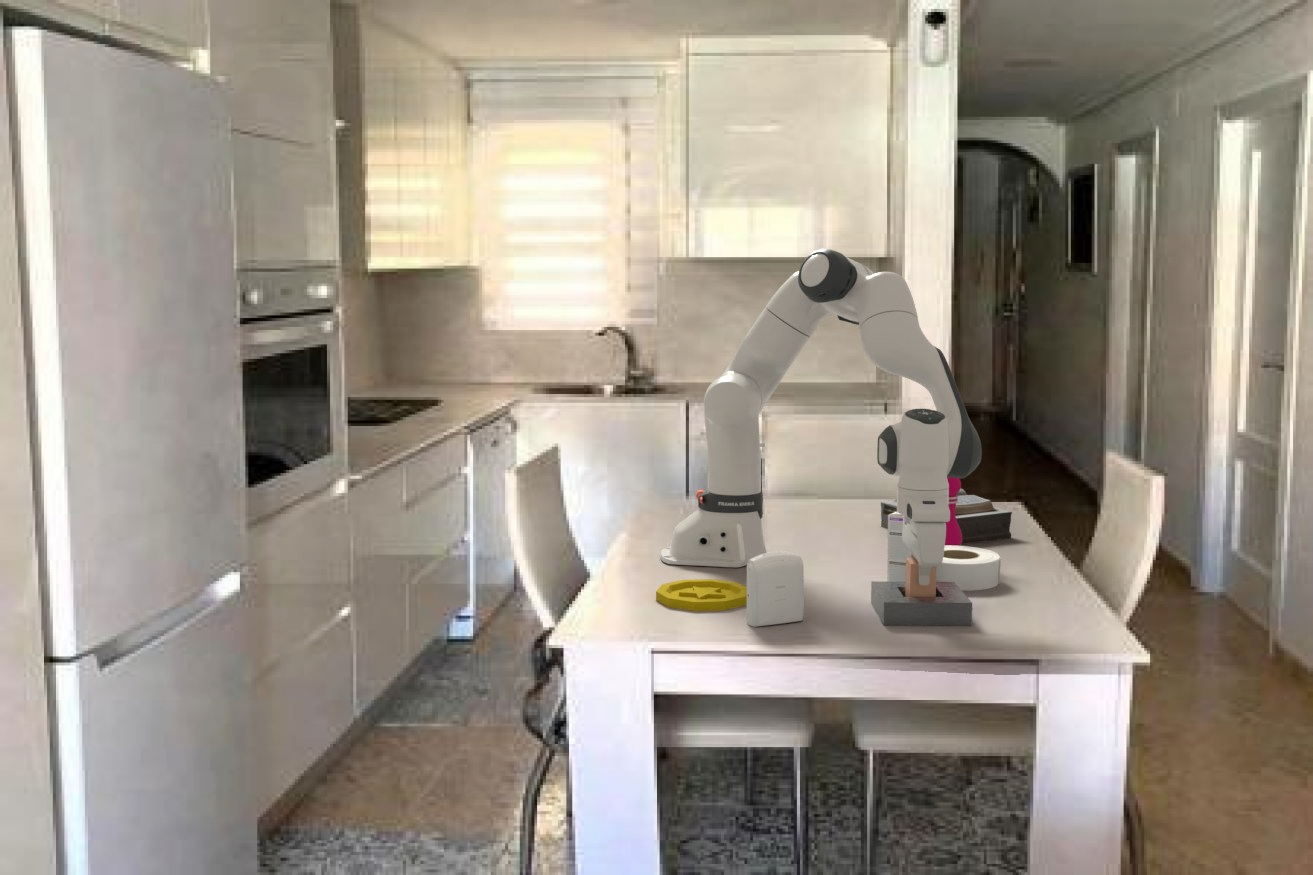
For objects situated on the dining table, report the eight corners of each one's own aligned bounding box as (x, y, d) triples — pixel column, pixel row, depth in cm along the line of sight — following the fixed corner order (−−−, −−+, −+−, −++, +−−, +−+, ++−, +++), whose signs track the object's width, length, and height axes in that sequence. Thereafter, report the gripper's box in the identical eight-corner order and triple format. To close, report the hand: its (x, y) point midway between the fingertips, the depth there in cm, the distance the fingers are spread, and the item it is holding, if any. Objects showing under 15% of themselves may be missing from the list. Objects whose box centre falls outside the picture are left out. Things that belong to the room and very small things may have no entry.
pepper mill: (962, 563, 273) (965, 467, 271) (926, 562, 275) (929, 466, 272) (961, 556, 280) (964, 462, 278) (926, 554, 282) (929, 461, 279)
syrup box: (915, 591, 250) (917, 516, 248) (885, 587, 253) (887, 512, 251) (926, 585, 255) (928, 511, 253) (897, 581, 258) (899, 508, 256)
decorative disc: (684, 585, 256) (684, 575, 256) (766, 596, 247) (766, 586, 247) (639, 604, 242) (639, 593, 242) (724, 617, 233) (724, 606, 233)
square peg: (909, 608, 232) (910, 564, 231) (905, 602, 236) (906, 558, 235) (935, 608, 232) (936, 564, 231) (930, 602, 236) (931, 558, 235)
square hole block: (883, 625, 227) (884, 602, 226) (870, 602, 242) (871, 581, 241) (971, 625, 226) (972, 602, 226) (953, 603, 241) (954, 581, 241)
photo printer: (753, 628, 225) (754, 557, 223) (742, 622, 229) (743, 552, 227) (807, 622, 229) (808, 552, 227) (795, 616, 232) (796, 547, 231)
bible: (962, 520, 321) (963, 480, 320) (1020, 542, 295) (1022, 499, 294) (873, 524, 315) (874, 484, 314) (924, 548, 289) (926, 503, 288)
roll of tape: (1001, 593, 250) (1002, 564, 249) (916, 589, 253) (917, 560, 252) (997, 574, 265) (998, 546, 264) (916, 570, 268) (917, 543, 267)
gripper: (894, 492, 242) (892, 566, 244) (914, 513, 222) (912, 594, 223) (929, 492, 242) (927, 566, 244) (952, 513, 221) (949, 594, 223)
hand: (920, 580), depth 233 cm, fingers closed on square peg, 4 cm apart
